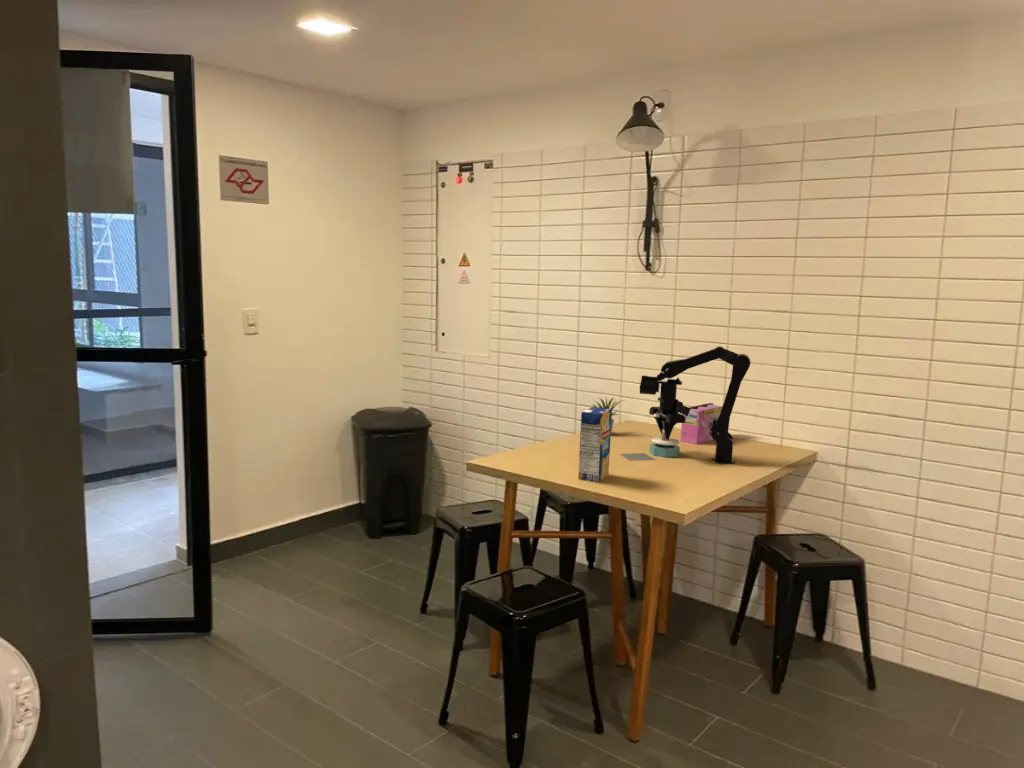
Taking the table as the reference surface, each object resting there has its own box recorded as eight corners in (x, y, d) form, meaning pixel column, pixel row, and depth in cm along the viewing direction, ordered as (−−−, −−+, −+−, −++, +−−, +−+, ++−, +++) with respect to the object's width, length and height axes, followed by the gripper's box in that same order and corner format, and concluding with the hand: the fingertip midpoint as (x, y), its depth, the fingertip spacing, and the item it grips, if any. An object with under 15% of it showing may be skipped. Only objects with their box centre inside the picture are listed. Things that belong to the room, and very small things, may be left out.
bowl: (682, 458, 278) (683, 448, 278) (657, 459, 276) (658, 449, 275) (670, 451, 288) (671, 442, 287) (646, 452, 285) (646, 443, 285)
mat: (655, 461, 272) (655, 459, 272) (629, 461, 270) (629, 460, 270) (644, 454, 282) (644, 453, 282) (619, 455, 280) (619, 453, 279)
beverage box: (578, 479, 244) (581, 411, 241) (588, 471, 254) (592, 406, 251) (598, 482, 242) (602, 414, 238) (608, 474, 252) (612, 409, 248)
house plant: (620, 431, 324) (623, 393, 321) (627, 438, 310) (630, 398, 308) (587, 430, 323) (589, 392, 320) (593, 437, 309) (595, 397, 307)
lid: (683, 444, 277) (684, 432, 277) (658, 445, 275) (659, 432, 274) (671, 439, 287) (672, 426, 286) (647, 439, 285) (647, 426, 284)
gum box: (709, 433, 325) (711, 402, 323) (726, 436, 320) (728, 405, 318) (679, 441, 308) (682, 408, 306) (697, 444, 302) (699, 411, 300)
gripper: (700, 400, 271) (697, 442, 274) (677, 391, 289) (674, 432, 292) (671, 400, 269) (668, 443, 271) (649, 391, 287) (647, 432, 289)
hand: (665, 437), depth 281 cm, fingers closed on lid, 3 cm apart
